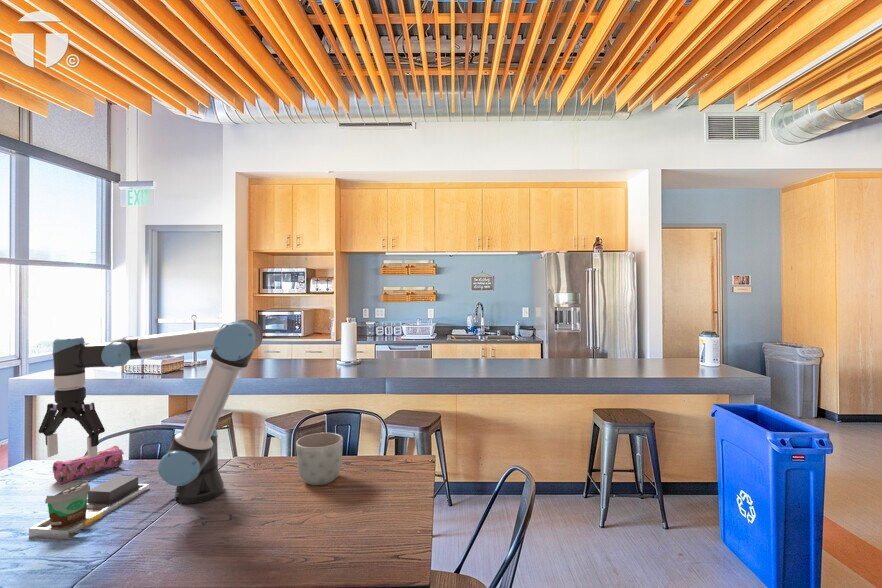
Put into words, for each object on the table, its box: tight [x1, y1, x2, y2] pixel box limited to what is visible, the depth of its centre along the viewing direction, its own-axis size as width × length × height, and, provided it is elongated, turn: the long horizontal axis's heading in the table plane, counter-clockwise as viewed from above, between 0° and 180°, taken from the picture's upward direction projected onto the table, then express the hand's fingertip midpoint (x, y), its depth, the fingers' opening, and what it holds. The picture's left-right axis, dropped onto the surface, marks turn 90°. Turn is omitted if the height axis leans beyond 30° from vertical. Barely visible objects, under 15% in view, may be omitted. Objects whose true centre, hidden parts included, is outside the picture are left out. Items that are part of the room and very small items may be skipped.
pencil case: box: [52, 445, 125, 485], centre depth 179 cm, size 21×9×9 cm, turn 146°
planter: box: [295, 432, 344, 486], centre depth 171 cm, size 17×17×15 cm
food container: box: [44, 479, 91, 527], centre depth 142 cm, size 12×6×10 cm, turn 170°
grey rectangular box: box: [87, 475, 139, 504], centre depth 157 cm, size 8×12×5 cm, turn 173°
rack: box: [28, 483, 150, 540], centre depth 149 cm, size 14×31×3 cm, turn 173°
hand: (72, 456), depth 142 cm, fingers open, 13 cm apart
